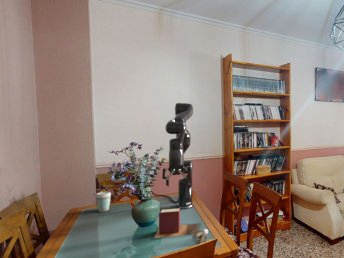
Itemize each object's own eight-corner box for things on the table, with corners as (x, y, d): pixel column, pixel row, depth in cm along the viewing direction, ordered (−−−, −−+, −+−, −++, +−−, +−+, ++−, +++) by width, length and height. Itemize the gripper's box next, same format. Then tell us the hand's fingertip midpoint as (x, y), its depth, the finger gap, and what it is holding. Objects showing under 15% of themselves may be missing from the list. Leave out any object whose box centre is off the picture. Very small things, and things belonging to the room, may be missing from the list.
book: (158, 234, 138) (158, 212, 138) (160, 230, 143) (160, 209, 143) (178, 232, 141) (178, 211, 141) (180, 228, 146) (180, 208, 145)
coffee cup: (113, 209, 174) (113, 192, 173) (99, 213, 166) (98, 195, 166) (107, 207, 178) (107, 190, 178) (93, 210, 171) (93, 193, 170)
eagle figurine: (191, 236, 136) (188, 241, 127) (199, 224, 137) (196, 228, 128) (203, 243, 136) (201, 248, 128) (211, 231, 138) (209, 235, 129)
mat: (153, 238, 134) (153, 238, 134) (159, 227, 148) (159, 227, 148) (197, 234, 140) (197, 233, 140) (199, 224, 153) (199, 223, 153)
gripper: (189, 155, 149) (189, 182, 149) (162, 156, 143) (162, 184, 143) (190, 157, 142) (190, 185, 143) (161, 158, 136) (162, 188, 137)
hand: (176, 185), depth 143 cm, fingers open, 8 cm apart
